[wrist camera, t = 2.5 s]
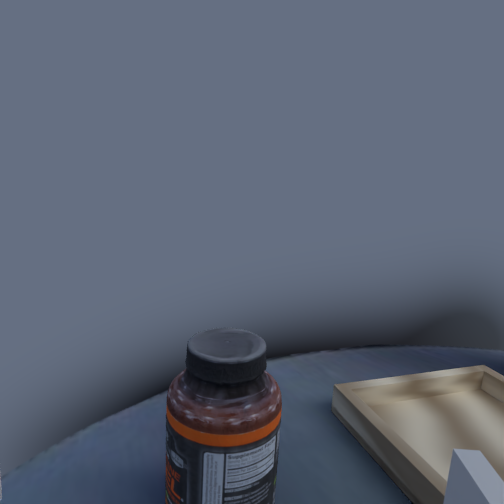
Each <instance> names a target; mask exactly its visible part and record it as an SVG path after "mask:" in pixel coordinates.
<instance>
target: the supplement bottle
mask: <svg viewBox="0 0 504 504" xmlns="http://www.w3.org/2000/svg"><path fill="white" fill-rule="evenodd" d="M266 365H267V364H266V343H265V341H264V340H263V339H262V338H261V337H260V336H258V335H256V334H254V333H252V332H249V331H246V330H241V329H237V328H216V329H209V330H204V331H202V332H198V333H196V334H195V335H193V336H192V337H191V338H190V339H189V341H188V344H187V358H186V367H187V368H186V369H185V370H183V371H182V372H181V373H180V374H179V375H178V376H176V377H175V379H174V380H173V381H172V383H171V385H170V387H169V390H168V395H167V413H166V419H167V420H166V485H165V486H166V496H165V504H274V501H275V488H276V474H277V463H278V449H279V435H280V423H281V407H282V402H281V392H280V388H279V386H278V384H277V382H276V381H275V380H274V378H273V377H272V376H271V375H270V374H269V373H267V372H266V371H265V370H266Z"/></svg>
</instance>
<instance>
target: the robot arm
mask: <svg viewBox="0 0 504 504" xmlns="http://www.w3.org/2000/svg"><path fill="white" fill-rule="evenodd" d="M1 499H2V489H1V473H0V500H1ZM443 504H504V482H503V480H502V479H501V478H500V476H499V475H498V474H497V472H496V471H495V470H494V468H493V467H492V466H491V464H490V463H489V462H488V460H487V459H486V458H485V456H484V455H483V454H482V452H481V451H480V450H466V449H453V452H452V458H451V463H450V469H449V474H448V480H447V486H446V491H445V497H444V502H443Z"/></svg>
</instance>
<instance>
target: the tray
mask: <svg viewBox="0 0 504 504" xmlns="http://www.w3.org/2000/svg"><path fill="white" fill-rule="evenodd" d="M331 411H332V412H333V413H334V415H335V416H336V417H337V418H338V419H339V420H340V421H341V422H342V424H343V425H344V426H345V427H346V428H347V429H348V430H349V432H350V433H351V434H352V435H353V436H354V437H355V438H356V439H357V441H358V442H359V443H360V444H361V445H362V446H363V447H364V449H365V450H366V451H367V452H368V453H369V454H370V455H371V456H372V458H373V459H374V460H375V461H376V462H377V463H378V464H379V466H380V467H381V468H382V469H383V470H384V471H385V472H386V473H387V475H388V476H389V477H390V478H391V479H392V480H393V481H394V483H395V484H396V485H397V486H398V487H399V488H400V489H401V490H402V492H403V493H404V494H405V495H406V496H407V497H408V498H409V500H410V501H411V502H412V503H413V504H443V502H444V497H445V491H446V486H447V480H448V474H449V469H450V463H451V458H452V452H453V449H466V450H480V451H481V452H482V454H483V455H484V456H485V458H486V459H487V460H488V462H489V463H490V464H491V466H492V467H493V468H494V470H495V471H496V472H497V474H498V475H499V476H500V478H501V479H502V480H503V482H504V376H503V375H501V374H499V373H497V372H496V371H494V370H492V369H490V368H488V367H487V366H485V365H479V366H471V367H464V368H456V369H449V370H441V371H434V372H426V373H419V374H411V375H404V376H396V377H388V378H381V379H373V380H366V381H358V382H351V383H343V384H336V385H334V389H333V399H332V409H331Z"/></svg>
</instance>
